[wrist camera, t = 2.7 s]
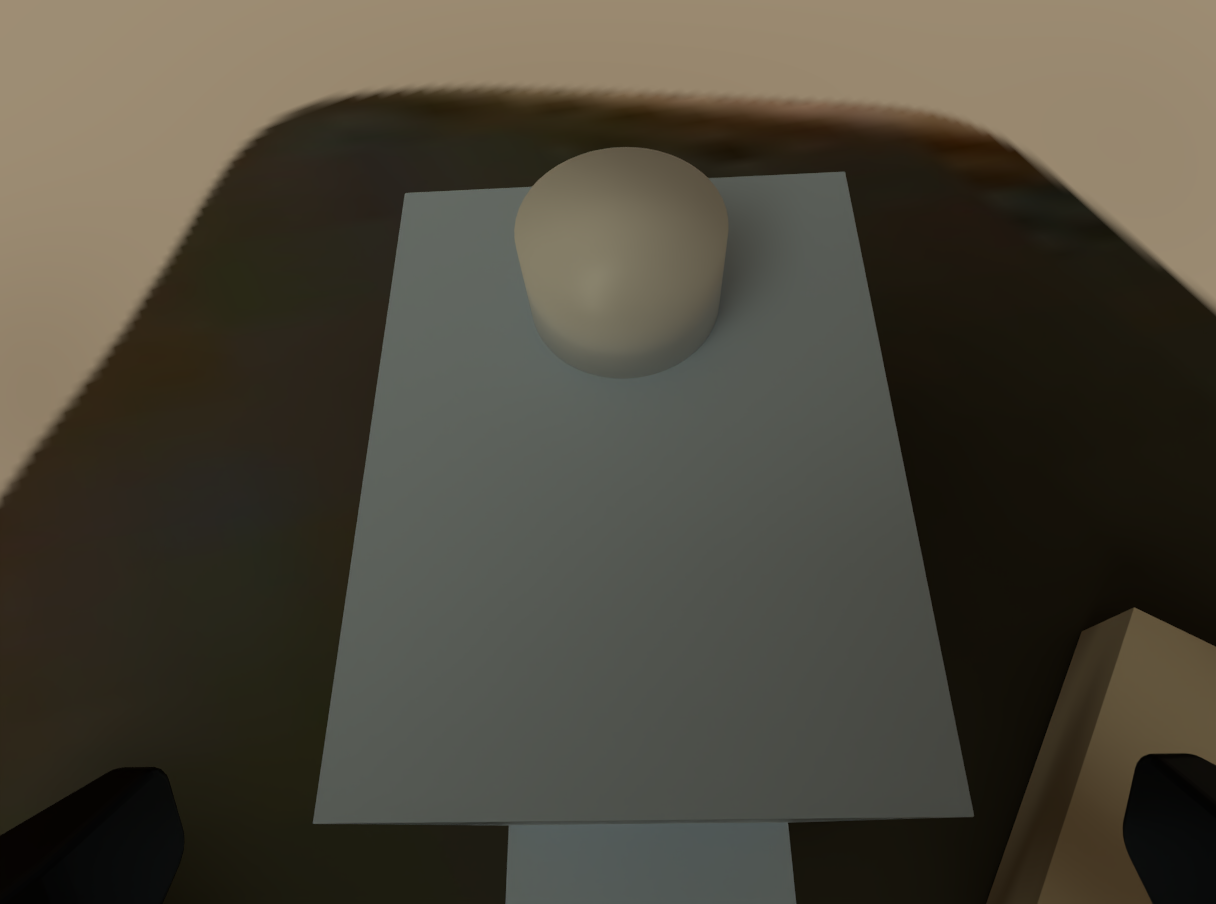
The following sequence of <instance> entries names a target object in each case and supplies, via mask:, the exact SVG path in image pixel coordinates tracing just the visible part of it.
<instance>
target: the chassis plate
mask: <svg viewBox="0 0 1216 904" xmlns="http://www.w3.org/2000/svg"><path fill="white" fill-rule="evenodd" d="M1157 753H1188V754H1193V755H1197V756H1199V757H1201V758H1203V759H1205V760H1207V761H1209V762H1211V763H1213V764H1215V765H1216V647H1215V646H1213V645H1211V644H1209V643H1207V642H1205V641H1203V640H1201V639H1199V638H1197V637H1194V636H1192V635H1190V634H1188V633H1186V632H1184V631H1182V630H1180V629H1178V628H1176V627H1174V626H1172V625H1170V624H1168V623H1166V622H1163V621H1161V620H1159V619H1157V618H1155V617H1153V616H1151V615H1149V614H1147V613H1145V612H1143V611H1141V610H1139V609H1137V608H1132V609H1130V610H1127V611H1125V612H1123V613H1121V614H1119V615H1117V616H1114V617H1112V618H1110V619H1108V620H1106V621H1104V622H1101V623H1099V624H1097V625H1095V626H1093V627H1090V628H1088V629H1086V630H1084V631H1082V632H1081V635H1080V638H1079V640H1078V643H1077V646H1076V649H1075V652H1074V655H1073V658H1072V660H1071V663H1070V666H1069V669H1068V672H1067V675H1066V678H1065V680H1064V683H1063V686H1062V689H1061V692H1060V695H1059V697H1058V700H1057V703H1056V706H1055V709H1054V712H1053V715H1052V717H1051V720H1050V723H1049V726H1048V729H1047V732H1046V734H1045V737H1044V740H1043V743H1042V746H1041V749H1040V752H1039V754H1038V757H1037V760H1036V763H1035V766H1034V769H1033V772H1032V774H1031V777H1030V780H1029V783H1028V786H1027V789H1026V791H1025V794H1024V797H1023V800H1022V803H1021V806H1020V809H1019V811H1018V814H1017V817H1016V820H1015V823H1014V826H1013V829H1012V831H1011V834H1010V837H1009V840H1008V843H1007V846H1006V848H1005V851H1004V854H1003V857H1002V860H1001V863H1000V866H999V868H998V871H997V874H996V877H995V880H994V883H993V885H992V888H991V891H990V894H989V897H988V900H987V903H986V904H1152V902H1151V900H1150V898H1149V896H1148V894H1147V892H1146V889H1145V887H1144V885H1143V883H1142V881H1141V879H1140V877H1139V875H1138V873H1137V871H1136V869H1135V867H1134V865H1133V863H1132V861H1131V859H1130V857H1129V855H1128V852H1127V850H1126V846H1125V843H1124V838H1123V819H1124V815H1125V810H1126V806H1127V802H1128V797H1129V793H1130V788H1131V784H1132V779H1133V775H1134V770H1135V767H1136V764H1137V762H1138V761H1139V760H1140V758H1141V757H1143V756H1144V755H1147V754H1157Z"/></svg>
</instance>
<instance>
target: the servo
mask: <svg viewBox="0 0 1216 904" xmlns="http://www.w3.org/2000/svg"><path fill="white" fill-rule="evenodd" d="M951 817H974V813H973V808H972V803H971V798H970V793H969V788H968V783H967V778H966V773H965V768H964V763H963V758H962V753H961V748H960V743H959V738H958V733H957V728H956V723H955V718H954V713H953V708H952V703H951V698H950V693H949V688H948V683H947V678H946V673H945V668H944V663H943V658H942V653H941V648H940V643H939V638H938V634H937V629H936V624H935V619H934V614H933V609H932V604H931V599H930V594H929V589H928V584H927V579H926V574H925V569H924V564H923V559H922V554H921V549H920V544H919V539H918V534H917V529H916V524H915V519H914V514H913V509H912V504H911V499H910V494H909V489H908V484H907V479H906V474H905V469H904V464H903V459H902V454H901V449H900V444H899V439H898V434H897V429H896V424H895V419H894V414H893V409H892V404H891V399H890V394H889V389H888V384H887V379H886V374H885V369H884V364H883V359H882V354H881V349H880V344H879V339H878V334H877V329H876V324H875V319H874V314H873V309H872V304H871V299H870V294H869V289H868V284H867V279H866V275H865V270H864V265H863V260H862V255H861V250H860V245H859V240H858V235H857V230H856V225H855V220H854V215H853V210H852V205H851V200H850V195H849V190H848V185H847V180H846V175H845V172H829V173H809V174H788V175H768V176H747V177H726V178H707V177H706V176H705V175H704V174H703V173H702V172H701V171H699V170H698V169H697V168H695V167H694V166H693V165H691V164H689V163H687V162H686V161H684V160H682V159H680V158H677V157H675V156H673V155H670V154H667V153H663V152H660V151H656V150H651V149H646V148H635V147H616V148H606V149H601V150H596V151H591V152H588V153H585V154H581V155H579V156H576V157H574V158H571V159H569V160H567V161H565V162H563V163H561V164H559V165H557V166H556V167H555V168H553V169H552V170H550V171H549V172H547V173H546V174H545V175H544V176H543V177H541V178H540V179H539V180H538V181H537V182H536V183H535V184H534V185H533V187H521V188H500V189H480V190H459V191H439V192H418V193H405V197H404V204H403V211H402V218H401V225H400V231H399V238H398V245H397V252H396V259H395V266H394V272H393V279H392V286H391V293H390V300H389V307H388V313H387V320H386V327H385V334H384V341H383V348H382V354H381V361H380V368H379V375H378V382H377V389H376V395H375V402H374V409H373V416H372V423H371V430H370V437H369V443H368V450H367V457H366V464H365V471H364V478H363V484H362V491H361V498H360V505H359V512H358V519H357V525H356V532H355V539H354V546H353V553H352V560H351V566H350V573H349V580H348V587H347V594H346V601H345V607H344V614H343V621H342V628H341V635H340V642H339V648H338V655H337V662H336V669H335V676H334V683H333V689H332V696H331V703H330V710H329V717H328V724H327V730H326V737H325V744H324V751H323V758H322V765H321V771H320V778H319V785H318V792H317V799H316V806H315V813H314V819H313V824H398V825H509V836H508V859H507V882H506V904H796V897H795V887H794V877H793V867H792V858H791V848H790V838H789V828H788V823H791V822H823V821H855V820H887V819H919V818H951Z"/></svg>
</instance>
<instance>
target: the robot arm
mask: <svg viewBox="0 0 1216 904" xmlns="http://www.w3.org/2000/svg"><path fill="white" fill-rule="evenodd" d="M1123 838H1124V843H1125V846H1126V850H1127V852H1128V855H1129V857H1130V859H1131V861H1132V863H1133V865H1134V867H1135V869H1136V871H1137V873H1138V875H1139V877H1140V879H1141V881H1142V883H1143V885H1144V887H1145V889H1146V892H1147V894H1148V896H1149V898H1150V900H1151V902H1152V904H1216V765H1215V764H1213V763H1211V762H1209V761H1207V760H1205V759H1203V758H1201V757H1199V756H1197V755H1193V754H1188V753H1157V754H1147V755H1144V756H1143V757H1141V758H1140V760H1139V761H1138V762H1137V764H1136V767H1135V770H1134V775H1133V779H1132V784H1131V788H1130V793H1129V797H1128V802H1127V806H1126V810H1125V815H1124V819H1123ZM183 850H184V831H183V827H182V823H181V820H180V817H179V813H178V810H177V806H176V803H175V800H174V796H173V793H172V789H171V786H170V782H169V779H168V777H167V775H166V774H165V773H164V772H163V771H162V770H161V769H159V768H156V767H124V768H117V769H114V770H112V771H110V772H108V773H106V774H104V775H102V776H101V777H99V778H97V779H96V780H94V781H92V782H91V783H89V784H87V785H85V786H84V787H82V788H80V789H79V790H77V791H75V792H74V793H72V794H70V795H68V796H67V797H65V798H63V799H62V800H60V801H58V802H56V803H55V804H53V805H51V806H50V807H48V808H46V809H45V810H43V811H41V812H39V813H38V814H36V815H34V816H33V817H31V818H29V819H28V820H26V821H24V822H22V823H21V824H19V825H17V826H16V827H14V828H12V829H10V830H9V831H7V832H5V833H4V834H2V835H0V904H163V901H164V899H165V897H166V894H167V892H168V890H169V887H170V885H171V883H172V880H173V878H174V876H175V873H176V871H177V869H178V867H179V864H180V861H181V858H182V854H183Z"/></svg>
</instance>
